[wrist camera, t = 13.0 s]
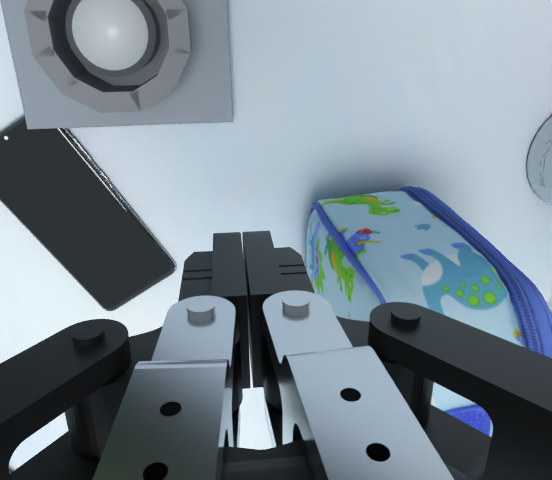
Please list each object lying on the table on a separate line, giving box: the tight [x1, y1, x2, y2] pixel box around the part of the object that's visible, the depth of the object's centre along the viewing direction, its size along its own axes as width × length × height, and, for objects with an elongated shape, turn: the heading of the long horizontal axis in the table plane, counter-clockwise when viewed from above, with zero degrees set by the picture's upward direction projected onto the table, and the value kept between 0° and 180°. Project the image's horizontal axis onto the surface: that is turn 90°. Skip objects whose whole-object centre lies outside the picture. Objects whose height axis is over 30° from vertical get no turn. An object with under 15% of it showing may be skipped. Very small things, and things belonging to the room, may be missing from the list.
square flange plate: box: [0, 0, 233, 129], centre depth 31 cm, size 14×12×6 cm
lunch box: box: [306, 186, 552, 437], centre depth 36 cm, size 26×11×21 cm, turn 5°
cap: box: [65, 0, 161, 77], centre depth 30 cm, size 5×5×4 cm
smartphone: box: [0, 114, 176, 311], centre depth 38 cm, size 7×1×16 cm
